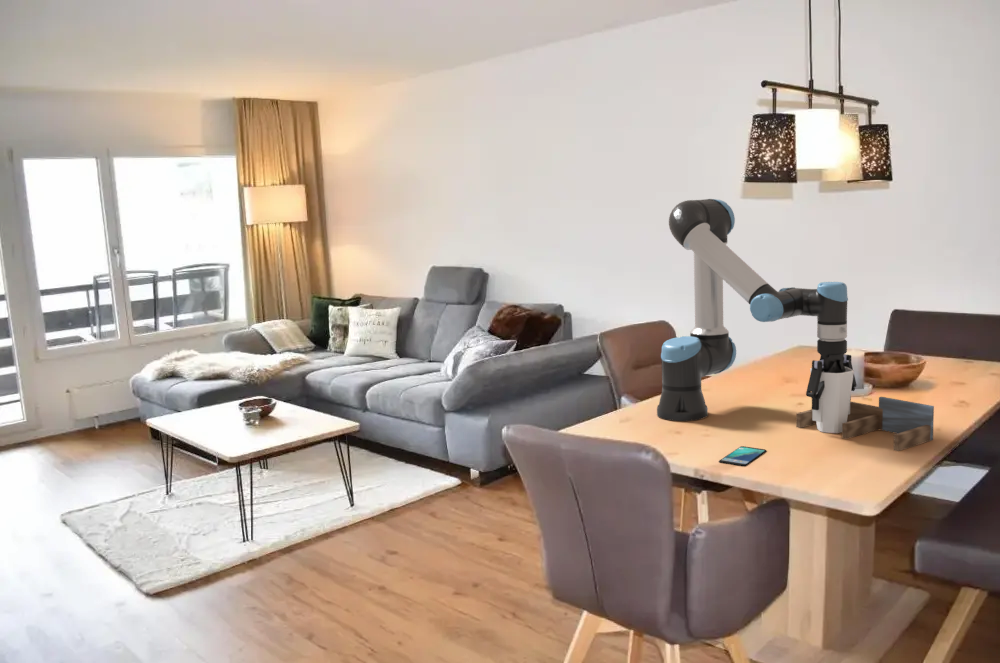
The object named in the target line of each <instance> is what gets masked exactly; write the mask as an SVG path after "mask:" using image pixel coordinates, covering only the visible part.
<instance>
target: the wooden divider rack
mask: <svg viewBox="0 0 1000 663" xmlns="http://www.w3.org/2000/svg"><path fill="white" fill-rule="evenodd" d="M934 410H935V406H934V405H929V404H924V403H920V402H914V401H908V400H901V399H896V398H892V397H885V396H879V397H878V406H876V405H871V404H866V403H861V402H855V401H850V414H849V415H848V418H847V422H846V423H842V432H841V434H842V436H841V437H842V439H845V440H846V439H847V440H848V439H850V438H854V437H858V436H860V435H865V434H868V433H870V432H875V431H877V430H879V429H880V430H879V431H884V430H885V431H886V432H888V431H889V433H893V432H894V433H893V451H895V452H899V451H902V450H906V449H909V448H913V447H915V446H918V445H921V444H924V443H927V442H931V441H933V440H934V416H935V414H934V412H935V411H934ZM795 419H796V420H795V422H796V428H798V429H801V428H805V427H809V426H813V425H815V424H816V425H817V423H816V421H813V420H812V408H811V409H808V410H805V411H801V412H797V413H796V418H795ZM874 430H875V431H874ZM885 431H884V432H885ZM867 432H868V433H867Z"/></svg>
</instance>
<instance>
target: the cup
mask: <svg viewBox="0 0 1000 663" xmlns="http://www.w3.org/2000/svg"><path fill="white" fill-rule="evenodd" d="M809 370H810V373H811V370H812V367H810V369H809ZM845 370H846V371H845V372H843V373H825V372H824V371H823V372H822V374H821V378H820V382H822V381H824V384H825V387H824V390H823V392H822V395H821V397H820V398H823V422H818V421H816V429H817V430H818V431H819V432H821V433H829V434H840V433H842V423H846V422H847V418H848V411H849V403H850V396H851V397H852V391H851V389H852V382H853V375H854V376H855V373H854V372H855V370H854V369H853V370H852V369H850V368H848V367H845Z"/></svg>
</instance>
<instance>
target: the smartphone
mask: <svg viewBox="0 0 1000 663" xmlns="http://www.w3.org/2000/svg"><path fill="white" fill-rule="evenodd" d="M765 453H767V449H763V448H759V447H758V448H757V447H751V446H746V445H745V446H743V445H741V446H739V447H738V448H736V449H735V450H733V451H732V452H730V453H728V454H727V455H726V456H724V457H723V458H721V459H719V460H718V463H719V464H725V465H730V466H736V467H742V468H743V467H747V466H748V465H750V464H751V463H753V462H754V461H755V460H757V459H760V457H761V456H763V455H764V454H765Z"/></svg>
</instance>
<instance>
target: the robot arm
mask: <svg viewBox="0 0 1000 663" xmlns="http://www.w3.org/2000/svg"><path fill="white" fill-rule="evenodd" d="M735 222H736V218H735V214H734V211H733V208H732V207H731V206H730V205H729V204H728V203H727V202H726V201H724V200H721V199H716V198H715V199H714V198H706V199H694V200H693V199H691V200H690V199H689V200H684V201H683V200H682V201H680V202H679V203H678V204H676V205H675V206H674V208H673V209H672V210H671V212H670V214H669V217H668V226H669V230H670V233H671V235H672V236H673V237H674V239H675V240H676V242H677V243H678V244H680V245H681V246H682V247H683V248H684V249H685V250H687V251H690V250H691V251H692V252H693V276H694V278H693V281H694V282H693V283H694V284H693V285H694V286H693V287H694V290H693V291H694V327H693V328H692V329H691V330H690V331H689V332H690V334H689V335H688V336H687V335H686V336H680V337H679V336H677V337H673V338H670V339H667V340H665V341H664V342H663V344H662V346H661V353H660V359H661V360H660V362H661V379H662V380H661V383H662V385H661V387H662V388H661V394H660V397H659V403H658V405H657V407H656V415H657V417H659V418H660V419H664V420H667V421H668V420H669V421H677V422H678V421H679V422H690V421H699V420H703V419H704V418H707V417H708V415H709V414H708V413H709V410H708V406H707V404H706V401H705V397H704V394H703V392H702V391H703V390H702V378H703V377H707V376H711V375H717V374H720V373H722V372H725V371H727V370H729V368H730V367H732V366H733V364H734V362H736V361H735V360H736V359H737V358H736V357H737V347H736V344H735V342H734V341H733V339H732V338H731V337H730V336H729V333H730V332H729V330H728V329H727V328H726V327H725V326H724V282H725V283H726V284H727V285H729V286H730V287H731V288H732V289H733V291H735V292H736V293H737V294H738V295H739V296H740V297H741V298H743V299H744V301H746V302H747V303H748V304H749V311H750V314H751V316H752V318H754V319H755V320H756V321H758V322H761V323H768V322H769V323H771V322H775V321H779V320H783V319H789V318H792V317H793V318H794V317H797V316H808V317H816V319H817V320H816V321H817V323H816V324H817V325H816V326H817V327H816V328H817V329H816V337H817V338H818V339H817V341H816V342H817V345H816V346H817V347H816V348H817V349H816V352H817V353H818V354H819V355H820V358H819V360H815V359H813V360H811V368H812V370H811V372H810V376H809V380H808V384H807V387H806V391H805V396H807V397H809V398H811V409H812V420H813V421H818V422H823V398H820V397H821V395H822V392H823V390H824V387H825V384H824V381H822V382H820V378H821V374H822V372H823V371H824V372H825V373H843V372H845V371H846V370H845V367H848V368H850V369H852V370H854V369H853V364H852V355H851V354H847V352H848V341H847V339H846V338H847V337H848V301H849V296H848V286H847V284H846V283H844V282H842V281H823V282H819V283H818V284H817V288H800V287H782V288H780V289H779V290H778V291H777V290H776V289H775V288H774V287H773V286H772V285H771V284H770V283H768V282H767V281H766V280H765V279H764V278H762V276H760V275H759V273H757V272H756V271H755V270H754V269H753V268H752V267H751V266H750V265H749V264H747V263H746V262H745V261H744V260H743V259H742V258H741V257H740V256H739V255H738V254H737V253H735V252H734V251H733V250H732V249H731V248H730V247H729V246H728V245H727V244H728V235H730V234H731V232H732V230H733V229H734V228H735ZM857 386H858V385H857V381H856V376H855V374H854V375H853V382H852V389H851V392H855V390H856V387H857ZM851 400H852V395H851V396H850V401H851ZM851 402H852V401H851ZM849 414H850V403H849V411H848V415H849Z"/></svg>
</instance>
